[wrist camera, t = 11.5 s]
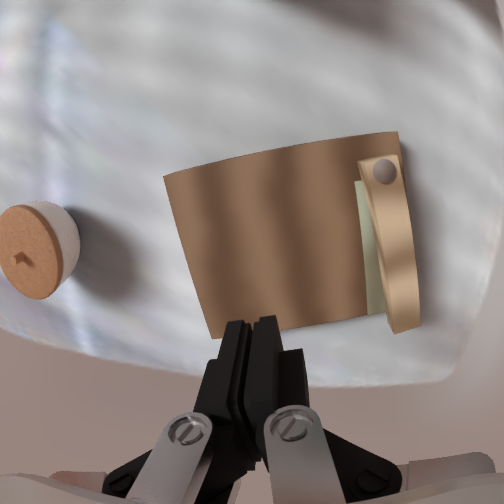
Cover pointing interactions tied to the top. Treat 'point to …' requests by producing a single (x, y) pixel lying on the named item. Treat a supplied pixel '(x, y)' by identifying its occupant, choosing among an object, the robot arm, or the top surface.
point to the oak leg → (392, 239)
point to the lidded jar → (38, 247)
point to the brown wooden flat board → (282, 233)
